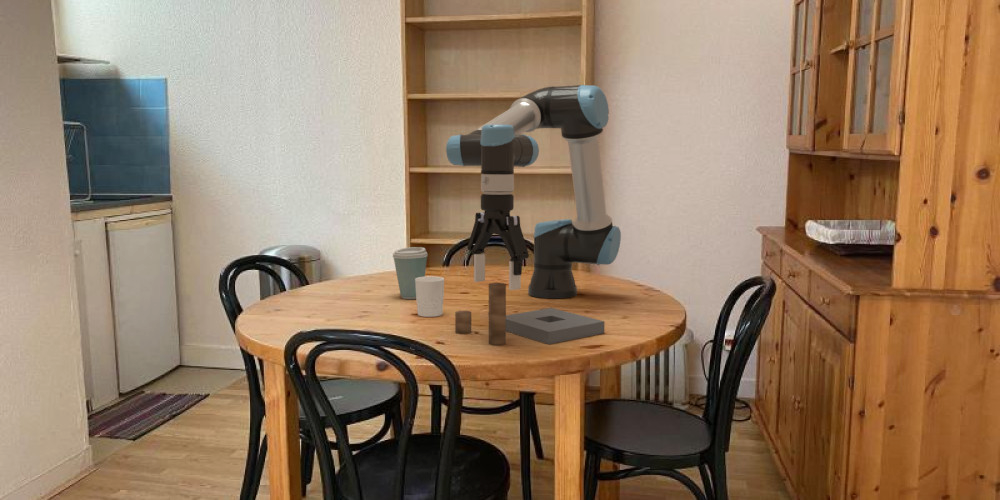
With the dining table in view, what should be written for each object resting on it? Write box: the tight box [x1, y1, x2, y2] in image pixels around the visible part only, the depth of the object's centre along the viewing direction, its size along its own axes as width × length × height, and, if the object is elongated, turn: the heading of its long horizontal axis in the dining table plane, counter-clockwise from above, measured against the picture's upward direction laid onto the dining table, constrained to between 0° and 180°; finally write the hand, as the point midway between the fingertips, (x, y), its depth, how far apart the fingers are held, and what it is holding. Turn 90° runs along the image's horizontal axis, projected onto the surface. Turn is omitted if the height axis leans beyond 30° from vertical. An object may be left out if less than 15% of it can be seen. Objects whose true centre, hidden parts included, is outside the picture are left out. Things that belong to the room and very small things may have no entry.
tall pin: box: [488, 282, 507, 347], centre depth 178 cm, size 4×4×14 cm
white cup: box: [415, 275, 445, 318], centre depth 210 cm, size 8×8×10 cm
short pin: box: [454, 310, 472, 335], centre depth 190 cm, size 4×4×5 cm
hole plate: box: [506, 307, 606, 345], centre depth 192 cm, size 20×18×3 cm
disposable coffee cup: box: [392, 246, 429, 300], centre depth 233 cm, size 11×11×15 cm
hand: (496, 285), depth 177 cm, fingers open, 13 cm apart
